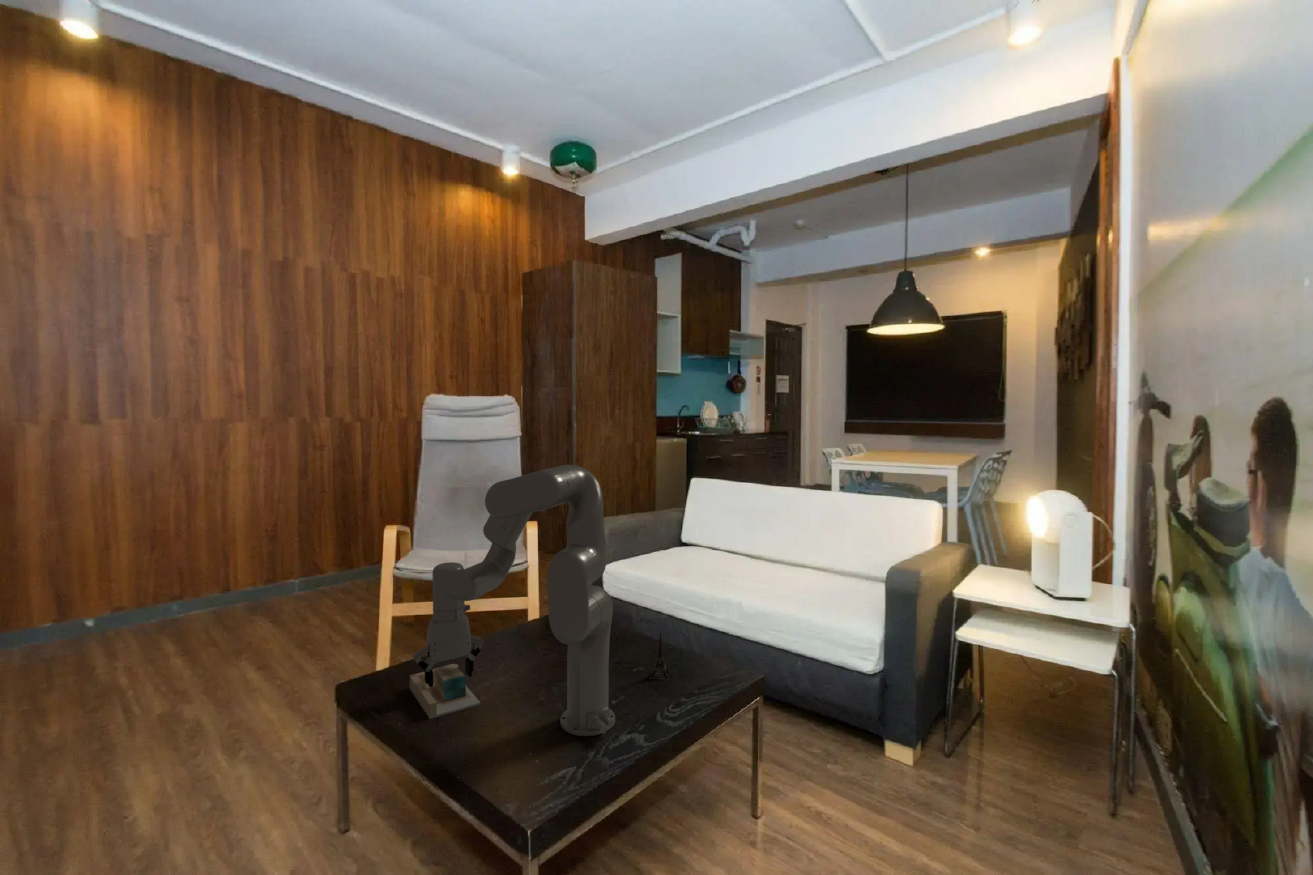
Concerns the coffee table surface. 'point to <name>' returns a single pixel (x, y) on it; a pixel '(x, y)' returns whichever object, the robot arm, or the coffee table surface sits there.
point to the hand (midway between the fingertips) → (449, 679)
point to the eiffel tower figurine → (658, 664)
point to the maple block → (449, 682)
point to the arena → (438, 697)
